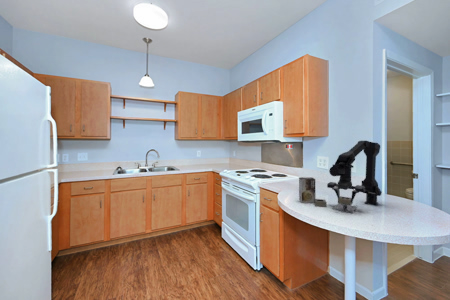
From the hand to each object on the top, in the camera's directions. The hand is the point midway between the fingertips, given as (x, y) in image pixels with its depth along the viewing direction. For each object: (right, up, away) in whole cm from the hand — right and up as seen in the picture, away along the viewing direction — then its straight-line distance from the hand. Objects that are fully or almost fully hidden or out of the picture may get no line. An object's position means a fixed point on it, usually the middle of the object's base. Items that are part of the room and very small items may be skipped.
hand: (345, 200), depth 116 cm
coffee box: (-17, -4, +14) cm, 23 cm away
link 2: (0, -1, 0) cm, 1 cm away
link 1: (-12, -4, +6) cm, 14 cm away
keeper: (0, -5, 0) cm, 4 cm away
